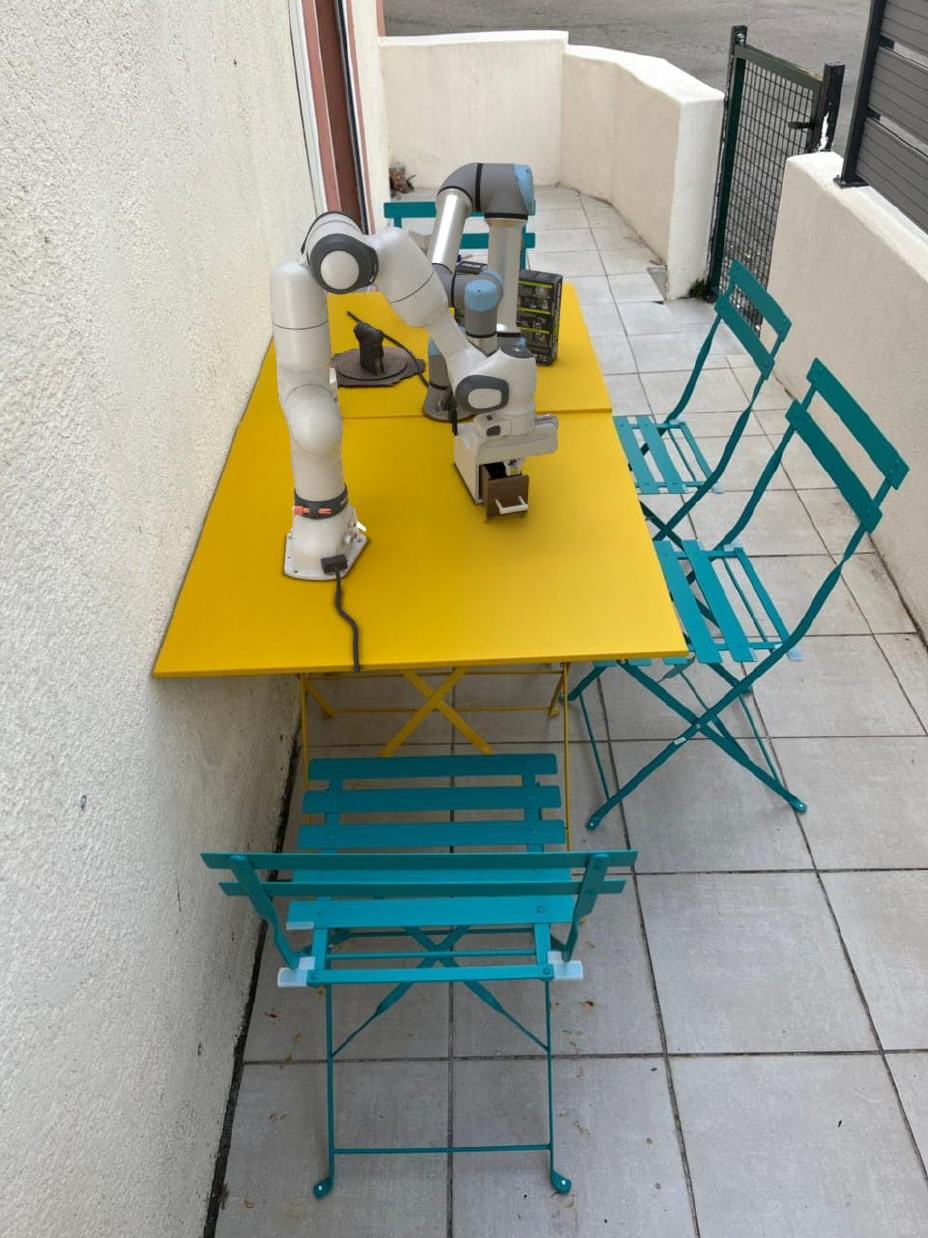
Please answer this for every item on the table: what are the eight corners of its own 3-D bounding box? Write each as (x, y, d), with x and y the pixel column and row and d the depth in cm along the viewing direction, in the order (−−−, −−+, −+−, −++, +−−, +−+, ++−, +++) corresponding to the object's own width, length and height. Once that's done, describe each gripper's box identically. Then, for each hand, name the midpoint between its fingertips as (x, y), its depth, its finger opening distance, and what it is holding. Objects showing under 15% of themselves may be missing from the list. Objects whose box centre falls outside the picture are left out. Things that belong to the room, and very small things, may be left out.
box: (558, 357, 283) (564, 272, 266) (551, 366, 278) (556, 280, 261) (461, 342, 293) (461, 259, 276) (453, 350, 288) (452, 266, 271)
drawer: (534, 523, 210) (536, 488, 204) (493, 530, 208) (494, 494, 202) (504, 474, 227) (505, 440, 221) (466, 480, 225) (466, 445, 219)
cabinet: (518, 496, 221) (520, 455, 213) (475, 503, 219) (475, 462, 211) (495, 458, 235) (496, 418, 228) (454, 464, 233) (453, 424, 225)
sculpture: (406, 397, 263) (403, 345, 252) (297, 384, 270) (290, 333, 259) (437, 352, 287) (436, 303, 277) (336, 341, 294) (331, 293, 284)
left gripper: (554, 406, 199) (550, 460, 207) (466, 418, 194) (467, 473, 203) (564, 418, 194) (560, 473, 203) (474, 431, 190) (474, 487, 199)
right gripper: (525, 336, 215) (522, 415, 229) (426, 349, 210) (429, 429, 224) (535, 349, 210) (532, 429, 224) (433, 362, 205) (436, 443, 219)
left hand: (512, 473), depth 203 cm, fingers closed
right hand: (480, 429), depth 224 cm, fingers open, 13 cm apart
